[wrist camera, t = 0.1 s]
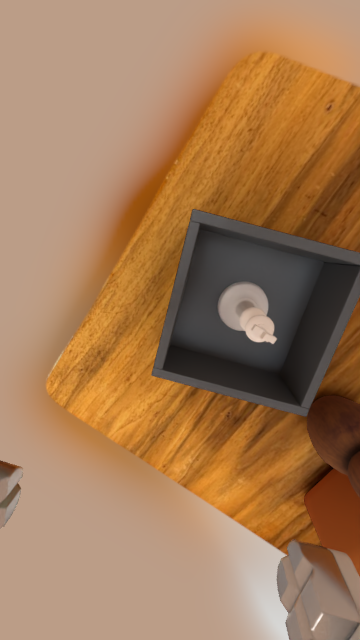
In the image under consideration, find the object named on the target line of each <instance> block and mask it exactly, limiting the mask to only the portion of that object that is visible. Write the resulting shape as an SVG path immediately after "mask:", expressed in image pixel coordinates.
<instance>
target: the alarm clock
mask: <svg viewBox="0 0 360 640" xmlns="http://www.w3.org/2000/svg"><path fill="white" fill-rule="evenodd" d="M304 502H305V506H306V508H307V511H308V513H309V515H310V518H311V520H312V523H313V525H314V527H315V530H316V532H317V535H318V537H319V539H320V542H321V544H322V547H326V548H328V549H332V550H336V551H340V552H343V553H346V554H347V555H348V556H349V557H350V559H351V560H352V562H353V564H354V566H355V568H356V571H357V573H358V575H359V577H360V498H359V496H358V495H357V494H356V492H355V490H354V489H353V487H352V485H351V483H350V481H349V478H348V475H345V474H343V473H340V472H339V471H337V470H336V469H334V468H333V469H332V470H331V471H330V472H329V473H328V474H327V475H326V476H325V477H324V478H323V479H322V480H320V481H319V482H318V483H317V484H316V485H315V486H314V487H313V488H312V489H311V490H310V491H309V492H308V493H307V494H306V495H305V498H304Z"/></svg>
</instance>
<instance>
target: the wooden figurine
mask: <svg viewBox="0 0 360 640" xmlns="http://www.w3.org/2000/svg"><path fill="white" fill-rule="evenodd" d="M307 430H308V433H309V437H310V439H311V441H312V444H313V446H314V448H315V449H316V451H317V453H318V454H319V455H320V457H321V458H322V459H323V460H324V461H325V462H326V463H327V464H329V465H330V466H332V467H333V468H334V469H336V470H337V471H339V472H340V473H343V474H345V475H348V478H349V481H350V483H351V485H352V487H353V489H354V490H355V492H356V494H357V495H358V496H359V498H360V405H359V404H358V403H356V402H354V401H351V400H349V399H346V398H344V397H341V396H335V395H331V396H324V397H321V398H319V399H317V400H316V401H315V402H314V403H312V404H311V407H310V408H309V411H308V418H307Z"/></svg>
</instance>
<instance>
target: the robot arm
mask: <svg viewBox="0 0 360 640" xmlns="http://www.w3.org/2000/svg"><path fill="white" fill-rule="evenodd" d="M22 475H23V468H22V467H20V466H17V465H13V464H10V463H7V462H3V461H0V528H2V527H3V526H4V525H5V524H6V522H7V521H8V519H9V518H10V517H11V515H12V513H13V511H14V509H15V507H16V505H17V503H18V500H19V497H20V492H21V488H20V486H19V484H18V482H19V480H20V479H21V478H22ZM287 550H288V553H289V555H287V556H285V557H283V558H282V559H281V561H280V564H279V566H278V571H277V586H278V592H279V597H280V601H281V602H282V604H283V606H284V607H285V608H286V610H287V612H288V616H287V620H286V627H287V631H288V636H289V640H360V577H359V575H358V573H357V571H356V568H355V566H354V564H353V562H352V560H351V559H350V557H349V556H348V555H347V554H346V553H343V552H340V551H336V550H332V549H328V548H326V547H322V546H318V545H314V544H310V543H306V542H302V541H298V540H292V541H290V543H289V545H288V547H287Z"/></svg>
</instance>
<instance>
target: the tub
mask: <svg viewBox="0 0 360 640" xmlns="http://www.w3.org/2000/svg"><path fill="white" fill-rule="evenodd" d="M237 282H251V283H254V284H256V285H257V286H259V287H260V288H261V289H262V290H263V291H264V293H265V295H266V297H267V299H268V313H267V315H266V316H267V317H269V318H270V319H271V320H272V321H273V324H274V333H273V336H275V337H276V338H277V340H276V341H275V343H274V344H272V343H270V342H266V341H264V342H254V341H252V340H251V339H249V338H248V336H247V335H246V331H238V330H234V329H232V328H230V327H228V326H227V325H226V324H225V323H224V322H223V321H222V320H221V318H220V316H219V313H218V300H219V297H220V295H221V294H222V292H223V291H224V290H225V289H226V288H227V287H228V286H230V285H232V284H234V283H237ZM359 296H360V253H359V252H355V251H351V250H347V249H343V248H340V247H336V246H332V245H328V244H325V243H321V242H317V241H313V240H309V239H306V238H302V237H298V236H294V235H290V234H287V233H283V232H279V231H275V230H272V229H268V228H264V227H260V226H256V225H253V224H249V223H245V222H241V221H237V220H234V219H230V218H226V217H222V216H219V215H215V214H211V213H207V212H203V211H200V210H196V209H193V210H192V214H191V218H190V222H189V226H188V230H187V234H186V238H185V242H184V246H183V250H182V254H181V258H180V262H179V266H178V270H177V274H176V278H175V282H174V286H173V290H172V294H171V298H170V302H169V306H168V310H167V314H166V318H165V323H164V327H163V331H162V335H161V339H160V343H159V347H158V351H157V355H156V359H155V363H154V367H153V371H152V376H155V377H159V378H163V379H167V380H170V381H174V382H178V383H182V384H185V385H189V386H193V387H196V388H200V389H204V390H208V391H211V392H215V393H219V394H223V395H226V396H230V397H234V398H238V399H241V400H245V401H249V402H253V403H256V404H260V405H264V406H268V407H271V408H275V409H279V410H283V411H286V412H290V413H294V414H298V415H301V416H305V417H306V416H307V414H308V411H309V408H310V407H311V404H312V402H313V400H314V398H315V395H316V393H317V391H318V389H319V386H320V384H321V382H322V380H323V377H324V375H325V373H326V371H327V368H328V366H329V364H330V362H331V359H332V357H333V355H334V353H335V350H336V348H337V346H338V344H339V341H340V339H341V337H342V335H343V332H344V330H345V328H346V326H347V323H348V321H349V319H350V317H351V314H352V312H353V310H354V308H355V305H356V303H357V301H358V298H359Z"/></svg>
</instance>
